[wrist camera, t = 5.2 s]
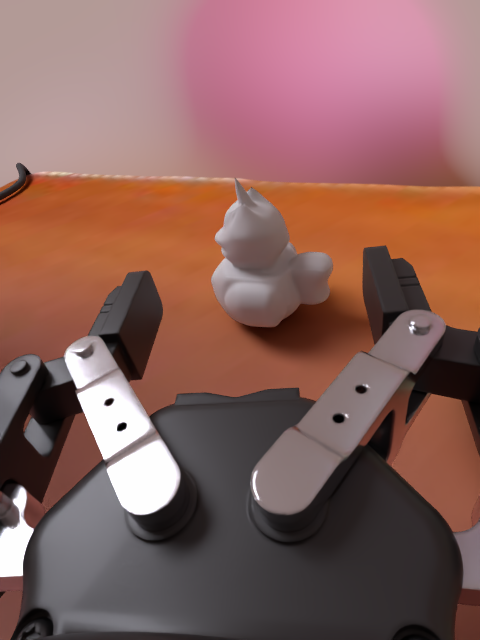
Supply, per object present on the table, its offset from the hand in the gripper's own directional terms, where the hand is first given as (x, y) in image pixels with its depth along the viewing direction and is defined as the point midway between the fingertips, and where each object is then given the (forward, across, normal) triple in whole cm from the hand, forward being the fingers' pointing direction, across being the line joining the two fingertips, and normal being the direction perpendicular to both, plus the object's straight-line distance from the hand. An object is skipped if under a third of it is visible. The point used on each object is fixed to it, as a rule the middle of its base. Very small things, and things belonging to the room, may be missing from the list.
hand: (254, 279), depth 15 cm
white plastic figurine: (+5, 0, +6) cm, 8 cm away
